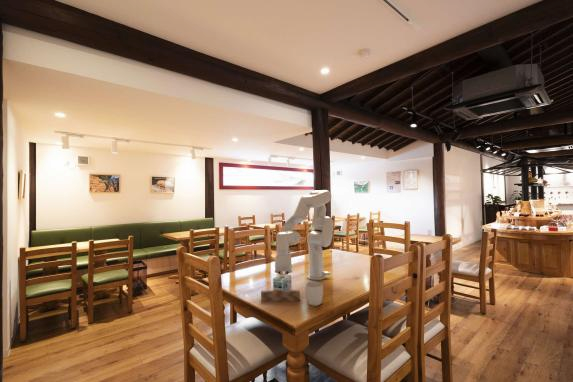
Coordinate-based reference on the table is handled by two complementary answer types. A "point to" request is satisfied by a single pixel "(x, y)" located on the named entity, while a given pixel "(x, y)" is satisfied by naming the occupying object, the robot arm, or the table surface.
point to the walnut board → (280, 295)
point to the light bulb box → (282, 282)
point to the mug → (314, 293)
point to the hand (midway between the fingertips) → (283, 281)
